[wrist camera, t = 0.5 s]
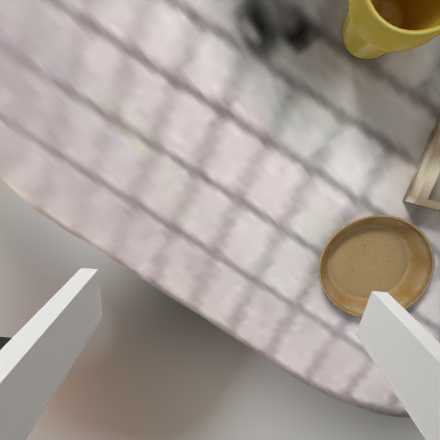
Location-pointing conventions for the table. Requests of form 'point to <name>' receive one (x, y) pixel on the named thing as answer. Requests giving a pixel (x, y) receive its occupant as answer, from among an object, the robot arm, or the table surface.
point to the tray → (427, 175)
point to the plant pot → (389, 26)
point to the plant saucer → (376, 263)
